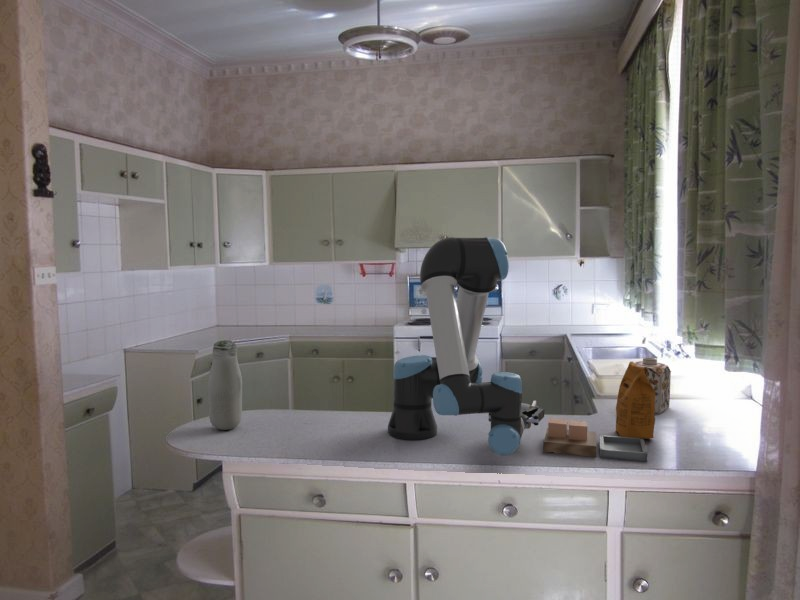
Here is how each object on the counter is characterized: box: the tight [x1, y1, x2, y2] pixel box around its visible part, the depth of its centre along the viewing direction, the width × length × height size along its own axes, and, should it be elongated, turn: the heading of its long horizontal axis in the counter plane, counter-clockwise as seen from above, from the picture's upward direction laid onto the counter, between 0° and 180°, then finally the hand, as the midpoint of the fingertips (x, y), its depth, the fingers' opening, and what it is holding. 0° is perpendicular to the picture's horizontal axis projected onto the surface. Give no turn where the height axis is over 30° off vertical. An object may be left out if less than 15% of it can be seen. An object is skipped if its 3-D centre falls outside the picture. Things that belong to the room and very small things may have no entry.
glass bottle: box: [207, 339, 243, 431], centre depth 199 cm, size 10×10×28 cm
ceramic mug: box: [521, 402, 532, 430], centre depth 188 cm, size 11×8×8 cm
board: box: [543, 427, 597, 458], centre depth 183 cm, size 14×14×3 cm
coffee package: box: [615, 361, 656, 440], centre depth 193 cm, size 10×12×22 cm
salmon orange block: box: [568, 420, 588, 441], centre depth 182 cm, size 5×5×4 cm
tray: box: [599, 434, 648, 462], centre depth 179 cm, size 12×14×2 cm
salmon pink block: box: [547, 417, 569, 438], centre depth 184 cm, size 5×5×4 cm
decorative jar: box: [634, 357, 672, 415], centre depth 225 cm, size 12×12×18 cm
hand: (519, 403), depth 191 cm, fingers closed on ceramic mug, 8 cm apart
